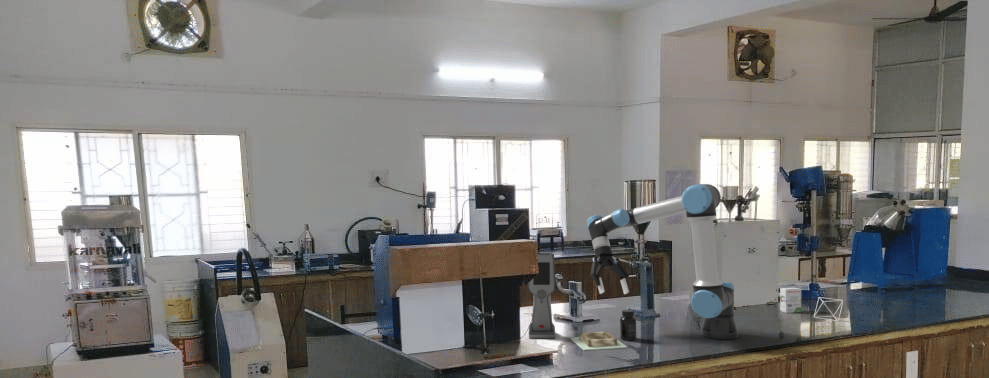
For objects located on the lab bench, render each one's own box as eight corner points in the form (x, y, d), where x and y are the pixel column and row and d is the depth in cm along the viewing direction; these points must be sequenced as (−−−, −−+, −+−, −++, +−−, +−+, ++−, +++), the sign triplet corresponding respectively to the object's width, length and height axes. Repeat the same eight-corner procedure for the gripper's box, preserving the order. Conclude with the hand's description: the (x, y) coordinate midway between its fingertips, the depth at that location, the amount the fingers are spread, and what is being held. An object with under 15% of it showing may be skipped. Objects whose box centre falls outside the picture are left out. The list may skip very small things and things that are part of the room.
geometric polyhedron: (815, 320, 279) (815, 300, 279) (811, 314, 289) (811, 296, 289) (845, 322, 275) (846, 302, 275) (840, 316, 285) (840, 297, 285)
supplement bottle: (637, 337, 251) (636, 309, 251) (636, 341, 245) (636, 312, 245) (620, 336, 253) (620, 308, 253) (619, 340, 247) (619, 311, 247)
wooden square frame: (606, 337, 250) (606, 331, 250) (617, 345, 239) (616, 338, 239) (579, 339, 248) (579, 333, 248) (588, 346, 237) (588, 340, 237)
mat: (610, 336, 254) (610, 335, 254) (627, 347, 236) (627, 346, 236) (570, 338, 251) (570, 337, 251) (583, 350, 233) (583, 349, 233)
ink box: (795, 310, 300) (795, 286, 299) (801, 312, 295) (801, 288, 295) (779, 311, 298) (779, 287, 298) (786, 313, 293) (786, 289, 293)
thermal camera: (555, 331, 263) (554, 252, 263) (556, 339, 250) (555, 256, 250) (529, 331, 264) (528, 252, 264) (528, 338, 251) (527, 256, 251)
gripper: (618, 253, 277) (631, 296, 266) (575, 250, 265) (586, 295, 255) (628, 246, 271) (641, 290, 261) (584, 243, 259) (596, 289, 249)
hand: (614, 293), depth 258 cm, fingers open, 13 cm apart
